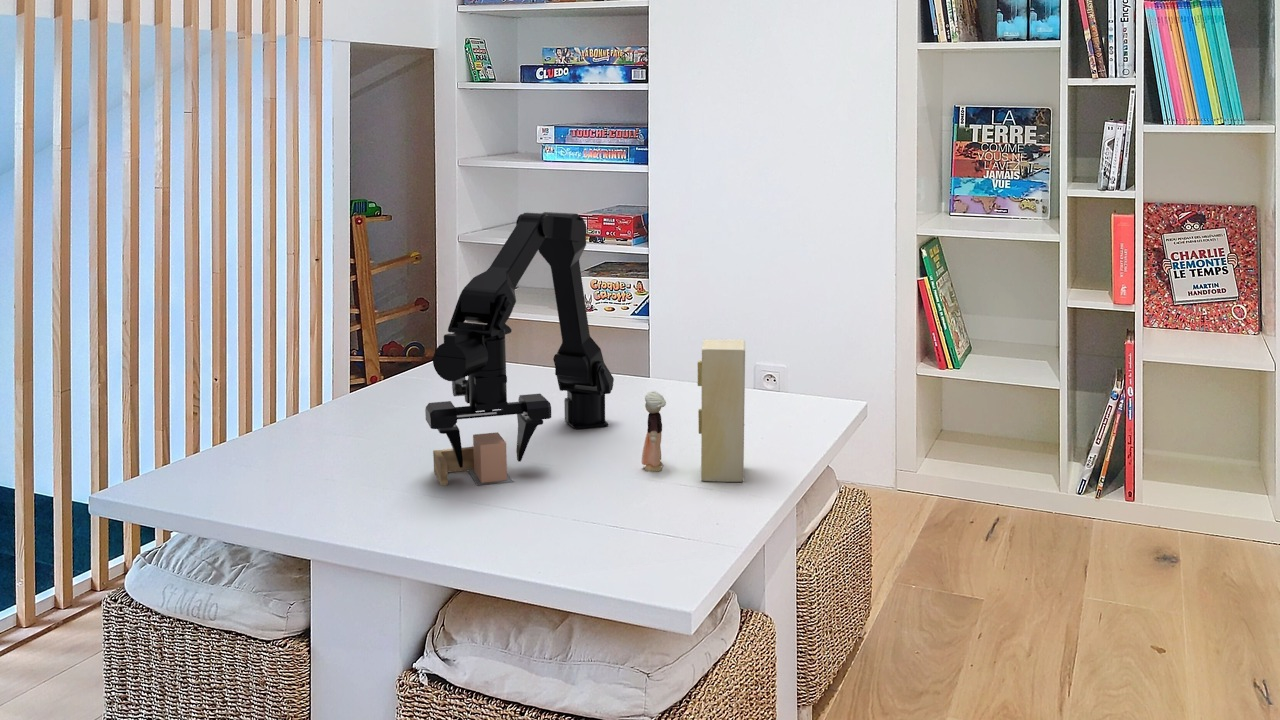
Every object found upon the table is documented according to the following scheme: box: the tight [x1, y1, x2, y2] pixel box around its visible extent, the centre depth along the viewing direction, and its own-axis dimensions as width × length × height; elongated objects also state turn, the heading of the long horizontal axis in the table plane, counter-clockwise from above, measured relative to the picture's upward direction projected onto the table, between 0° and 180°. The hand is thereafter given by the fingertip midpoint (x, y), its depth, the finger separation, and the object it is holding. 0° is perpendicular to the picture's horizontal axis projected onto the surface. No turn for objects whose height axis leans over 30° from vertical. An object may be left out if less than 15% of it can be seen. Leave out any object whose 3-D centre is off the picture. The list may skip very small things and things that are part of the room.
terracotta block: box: [472, 431, 508, 483], centre depth 183 cm, size 6×4×6 cm, turn 19°
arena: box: [432, 446, 514, 487], centre depth 184 cm, size 12×9×4 cm
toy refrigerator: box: [697, 338, 746, 483], centre depth 183 cm, size 8×7×21 cm
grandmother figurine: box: [641, 390, 667, 473], centre depth 187 cm, size 8×4×13 cm, turn 5°
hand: (490, 463), depth 184 cm, fingers open, 9 cm apart
